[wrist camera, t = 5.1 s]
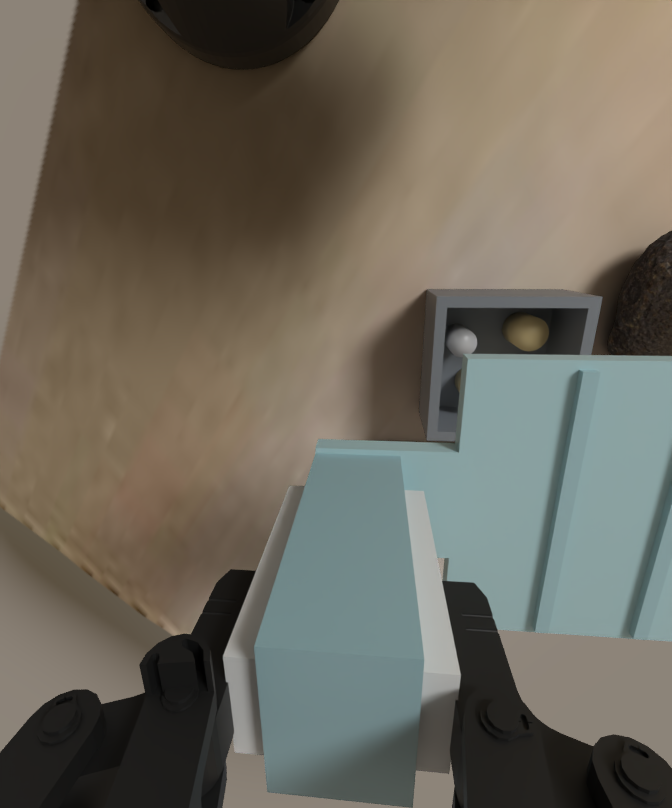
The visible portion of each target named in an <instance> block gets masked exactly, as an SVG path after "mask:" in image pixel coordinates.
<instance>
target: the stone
mask: <svg viewBox="0 0 672 808" xmlns="http://www.w3.org/2000/svg"><path fill="white" fill-rule="evenodd" d="M608 351H609V352H610V353H611V354H612V355H626V356H672V231H670V232H668V233H667V234H665V235H663V236H661V237H660V238H659V239H657V240H656V241H655V242H653V243H652V244H650V245H649V246H648V248H647V249H646V250H645V252H644V253H643V254H642V255H641V256H640V258H639V259H638V260H637V261H636V262H635V264H634V266H633V268H632V270H631V272H630V274H629V276H628V278H627V280H626V282H625V284H624V286H623V287H622V290H621V293H620V296H619V299H618V307H617V316H616V320H615V323H614V326H613V328H612V331H611V334H610V336H609V339H608Z"/></svg>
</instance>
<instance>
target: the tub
mask: <svg viewBox="0 0 672 808" xmlns="http://www.w3.org/2000/svg"><path fill="white" fill-rule="evenodd" d="M602 298H603V297H601V296H596V295H590V294H585V293H579V292H574V291H568V290H563V289H427V293H426V308H425V324H424V340H423V356H422V371H421V387H420V403H419V413H420V417H421V421H422V425H423V429H424V432H425V436H426V440H428V441H455V438H456V427H457V416H458V405H459V394H460V382H461V371H462V360H463V354H536V355H591V354H592V349H593V344H594V339H595V334H596V329H597V324H598V318H599V313H600V308H601V303H602Z"/></svg>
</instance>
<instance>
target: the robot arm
mask: <svg viewBox="0 0 672 808" xmlns="http://www.w3.org/2000/svg"><path fill="white" fill-rule="evenodd" d="M138 1H139V2H140V3H141V5H142V6H143V8H144V9H145V10H146V11H147V12H148V14H149V15H150V16H151V17H152V18H153V19H154V20H155V21H156V23H157V24H158V25H159V26H160V27H161V28H162V29H163V30H164V31H165V32H166V33H167V34H168V35H169V36H170V37H171V38H172V39H173V40H174V41H175V42H176V43H177V44H178V45H180V46H181V47H182V48H183V49H185V50H186V51H188V52H189V53H191V54H192V55H194V56H196V57H197V58H199V59H201V60H204V61H206V62H208V63H211V64H213V65H217V66H220V67H225V68H230V69H254V68H260V67H264V66H268V65H271V64H274V63H276V62H279V61H281V60H283V59H285V58H287V57H288V56H290V55H292V54H293V53H295V52H296V51H298V50H299V49H300V48H302V47H303V46H304V45H305V44H306V43H308V42H309V41H310V40H311V39H312V38H313V37H314V36H315V35H316V33H317V32H318V31H319V30H320V29H321V28H322V26H323V25H324V24H325V22H326V21H327V20H328V18H329V17H330V15H331V13H332V12H333V10H334V8H335V7H336V5H337V3H338V1H339V0H138ZM304 488H305V486H289V488H288V491H287V493H286V496H285V498H284V501H283V503H282V506H281V509H280V511H279V514H278V516H277V519H276V521H275V524H274V526H273V529H272V532H271V534H270V537H269V539H268V542H267V544H266V547H265V550H264V552H263V555H262V557H261V560H260V562H259V565H258V568H257V570H256V571H249V570H232V569H231V570H230V571H229V572H227V573H226V574H225V575H224V576H223V577H222V578H221V579H220V580H219V581H218V582H217V583H216V585H215V587H214V589H213V591H212V593H211V595H210V597H209V601H207V603H206V605H205V607H204V609H203V613H202V614H201V615H200V617H199V619H198V621H197V623H196V625H195V627H194V629H193V631H192V633H191V634H181V635H176V636H171V637H169V638H167V639H165V640H163V641H162V642H159V643H158V644H157V645H156V646H154V647H153V648H152V649H151V650H150V651H149V652H147V654H146V655H145V657H144V658H143V660H142V662H141V663H140V669H141V675H142V679H143V684H144V689H145V693H143V694H140V695H137V696H134V697H131V698H126V699H122V700H118V701H113V702H109V703H105V704H101V702H100V700H99V698H98V696H97V694H95V693H93V692H91V691H89V690H72V691H69V692H66V693H63V694H60V695H58V696H56V697H55V698H53V699H52V700H50V701H48V702H47V703H45V704H44V705H43V706H42V707H40V708H39V710H37V711H36V712H35V713H34V714H33V715H32V716H31V717H30V718H29V719H28V720H27V722H26V723H25V724H24V725H23V726H22V727H21V729H20V730H19V731H18V732H17V734H16V735H15V736H14V737H13V738H12V739H11V740H10V742H9V743H8V744H7V745H6V746H5V748H4V749H3V750H2V751H1V753H0V808H222V806H223V799H224V793H225V787H226V780H227V777H226V774H227V772H226V757H227V754H228V751H229V748H230V744H231V741H232V738H233V742H234V750H235V752H236V753H247V754H257V755H264V749H263V739H262V728H261V717H260V706H259V696H258V685H257V674H256V663H255V653H254V645H255V642H256V639H257V636H258V632H259V629H260V626H261V623H262V620H263V617H264V614H265V610H266V607H267V604H268V601H269V598H270V595H271V592H272V588H273V585H274V582H275V579H276V576H277V573H278V570H279V567H280V563H281V560H282V557H283V554H284V551H285V548H286V545H287V541H288V538H289V535H290V532H291V529H292V526H293V523H294V520H295V516H296V513H297V510H298V507H299V504H300V501H301V498H302V494H303V491H304ZM404 491H405V499H406V508H407V516H408V525H409V533H410V542H411V550H412V559H413V567H414V575H415V584H416V592H417V601H418V609H419V618H420V626H421V635H422V643H423V651H424V672H423V684H422V697H421V709H420V722H419V734H418V747H417V760H416V770H418V771H428V772H438V773H448V774H449V771H450V762H451V764H452V770H453V777H454V784H455V788H454V796H453V804H452V808H672V768H671V767H670V766H669V765H668V763H667V762H666V761H665V760H664V759H663V758H661V757H660V756H659V755H658V754H656V753H655V752H654V751H653V750H651V749H650V748H649V747H647V746H646V745H644V744H642V743H640V742H638V741H636V740H634V739H632V738H629V737H624V736H619V735H609V736H605V737H601V738H600V739H599V740H598V742H597V743H596V744H595V745H594V746H591V745H588V744H586V743H583V742H581V741H578V740H576V739H573V738H571V737H568V736H566V735H563V734H561V733H559V732H557V731H555V730H553V729H551V728H549V727H548V726H546V725H545V724H544V723H542V722H541V721H540V720H538V719H537V718H536V717H535V716H534V715H533V714H532V712H531V711H530V710H529V709H528V707H527V706H526V705H525V703H523V701H522V700H521V698H520V695H519V693H518V691H517V688H516V685H515V682H514V679H513V676H512V673H511V670H510V667H509V664H508V661H507V658H506V655H505V651H504V648H503V645H502V643H501V639H500V636H499V634H498V632H497V627H496V624H495V621H494V619H493V614H492V611H491V608H490V605H489V602H488V599H487V597H486V596H485V595H484V594H483V592H482V591H481V590H480V589H479V588H478V586H477V585H476V584H475V583H473V582H456V581H442V579H441V574H440V569H439V564H438V559H437V554H436V549H435V544H434V539H433V534H432V529H431V524H430V519H429V514H428V509H427V504H426V499H425V494H424V491H413V490H404Z"/></svg>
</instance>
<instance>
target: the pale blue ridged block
mask: <svg viewBox="0 0 672 808" xmlns="http://www.w3.org/2000/svg"><path fill="white" fill-rule="evenodd" d="M404 490H413V491H424V494H425V499H426V504H427V509H428V514H429V519H430V524H431V529H432V534H433V539H434V544H435V549H436V554H437V558H445V559H444V570H443V581H456V582H473V583H475V584H476V585H477V586H478V588H479V589H480V590H481V591H482V592H483V594H484V595H485V596H486V597H487V599H488V602H489V605H490V608H491V611H492V614H493V619H494V621H495V624H496V627H497V630H513V631H527V632H538V633H539V632H540V633H556V634H570V635H585V636H601V637H614V638H629V639H641V640H660V641H672V356H626V355H536V354H463V360H462V371H461V382H460V394H459V405H458V416H457V427H456V438H455V443H433V442H400V441H366V440H333V439H318V442H317V445H316V454H315V457H314V460H313V463H312V466H311V469H310V473H309V476H308V479H307V482H306V485H305V488H304V491H303V494H302V498H301V501H300V504H299V507H298V510H297V513H296V516H295V520H294V523H293V526H292V529H291V532H290V535H289V538H288V541H287V545H286V548H285V551H284V554H283V557H282V560H281V563H280V567H279V570H278V573H277V576H276V579H275V582H274V585H273V588H272V592H271V595H270V598H269V601H268V604H267V607H266V610H265V614H264V617H263V620H262V623H261V626H260V629H259V632H258V636H257V639H256V642H255V645H254V653H255V663H256V674H257V685H258V696H259V706H260V717H261V728H262V739H263V749H264V759H265V771H266V781H267V791H268V792H271V793H280V794H289V795H299V796H308V797H318V798H328V799H336V800H346V801H356V802H365V803H374V804H383V805H392V806H402V807H411V808H412V807H413V796H414V785H415V772H416V760H417V747H418V734H419V722H420V709H421V697H422V684H423V672H424V651H423V643H422V635H421V626H420V618H419V609H418V601H417V592H416V584H415V575H414V567H413V559H412V550H411V542H410V533H409V525H408V516H407V508H406V499H405V491H404Z"/></svg>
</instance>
